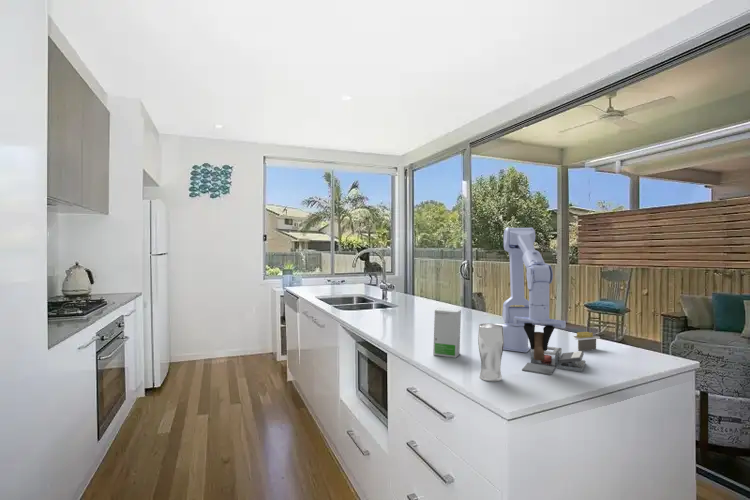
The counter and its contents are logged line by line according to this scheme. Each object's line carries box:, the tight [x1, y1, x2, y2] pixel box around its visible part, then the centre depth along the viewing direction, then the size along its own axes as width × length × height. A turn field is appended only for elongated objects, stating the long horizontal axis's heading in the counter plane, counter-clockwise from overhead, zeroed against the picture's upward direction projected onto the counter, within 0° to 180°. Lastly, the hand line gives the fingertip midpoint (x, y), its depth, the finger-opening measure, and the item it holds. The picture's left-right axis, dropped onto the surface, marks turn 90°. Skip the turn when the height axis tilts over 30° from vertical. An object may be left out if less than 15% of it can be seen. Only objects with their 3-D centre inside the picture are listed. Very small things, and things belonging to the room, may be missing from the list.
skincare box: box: [433, 307, 462, 359], centre depth 139 cm, size 8×7×16 cm
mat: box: [521, 362, 556, 376], centre depth 122 cm, size 8×8×1 cm
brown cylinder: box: [534, 331, 545, 361], centre depth 122 cm, size 3×3×8 cm
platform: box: [572, 331, 601, 352], centre depth 146 cm, size 12×18×7 cm, turn 108°
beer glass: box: [477, 322, 504, 383], centre depth 114 cm, size 7×7×15 cm
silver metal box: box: [530, 346, 586, 373], centre depth 128 cm, size 15×10×4 cm, turn 58°
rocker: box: [559, 350, 584, 363], centre depth 126 cm, size 6×9×1 cm, turn 148°
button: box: [542, 354, 553, 362], centre depth 131 cm, size 3×3×2 cm
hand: (538, 349), depth 122 cm, fingers closed on brown cylinder, 3 cm apart
